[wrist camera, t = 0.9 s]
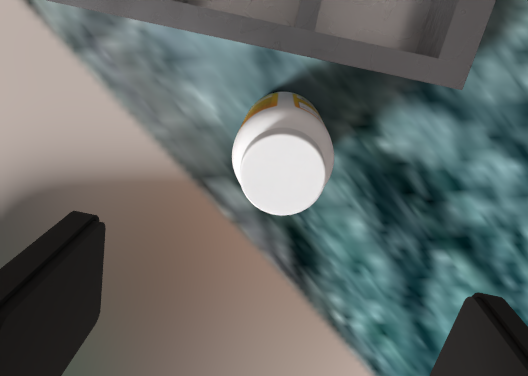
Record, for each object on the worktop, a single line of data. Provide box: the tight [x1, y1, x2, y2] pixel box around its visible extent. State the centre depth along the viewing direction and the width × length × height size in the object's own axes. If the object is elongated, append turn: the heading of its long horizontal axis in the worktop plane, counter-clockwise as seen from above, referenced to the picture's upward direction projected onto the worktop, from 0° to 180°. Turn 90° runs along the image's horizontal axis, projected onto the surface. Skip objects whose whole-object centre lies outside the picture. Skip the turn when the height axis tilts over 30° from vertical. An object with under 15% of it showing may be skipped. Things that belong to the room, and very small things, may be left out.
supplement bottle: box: [232, 92, 334, 215], centre depth 22 cm, size 5×5×10 cm
